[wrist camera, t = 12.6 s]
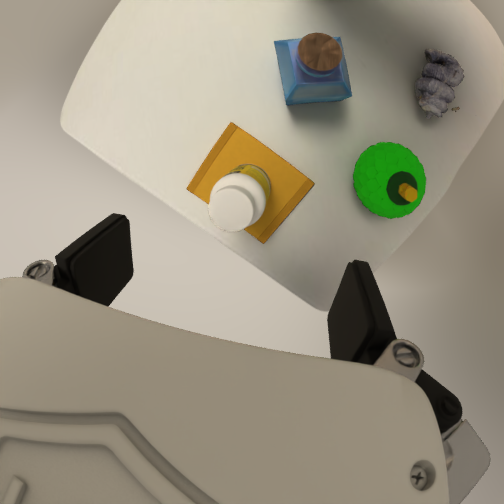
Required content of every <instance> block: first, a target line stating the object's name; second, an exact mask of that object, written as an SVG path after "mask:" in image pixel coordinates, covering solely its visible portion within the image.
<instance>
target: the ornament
mask: <svg viewBox="0 0 504 504" xmlns="http://www.w3.org/2000/svg"><path fill="white" fill-rule="evenodd" d="M353 179H354V188H355V190H356V192H357V196H358V197H359V199H360V200H361V201H362V204H363V205H364V206H365V207H367V208H368V209H369V211H371V212H372V213H374V214H377V215H378V216H382V217H387V218H390V219H392V218H396V217H397V218H400V217H403V216H405V215H408V214H410V213H412V211H413V210H414V209H415V208H416V207H417V206H418V205H419V204H420V202H421V200H422V198H423V196H424V193H425V187H426V177H425V173H424V168H423V165H422V164H421V163H420V162H419V160H418V158H417V157H416V156H415V155H414V154H413V153H412V152H411V150H409V149H408V148H405V147H404V146H402V145H400V144H395V143H392V142H387V143H385V142H380V143H377V144H376V145H372V146H370V147H369V148H368V149H367V150H365V151H364V152H363V153H362V154H361V155H360V157H359V159H358V161H357V162H356V164H355V169H354V174H353Z"/></svg>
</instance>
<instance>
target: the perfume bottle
mask: <svg viewBox="0 0 504 504" xmlns="http://www.w3.org/2000/svg"><path fill="white" fill-rule="evenodd" d="M274 44H275V49H276V54H277V59H278V63H279V69H280V74H281V79H282V84H283V90H284V95H285V101H286V105H293V104H303V103H314V102H330V101H341V100H344V99H346V98H349V97H351V96H352V92H351V86H350V81H349V75H348V70H347V65H346V60H345V55H344V51H343V47H342V42H341V38H340V37H331V36H329V35H326V34H323V33H312V34H308V35H307V36H305V37H303V38H301V39H289V40H280V41H274Z"/></svg>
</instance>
